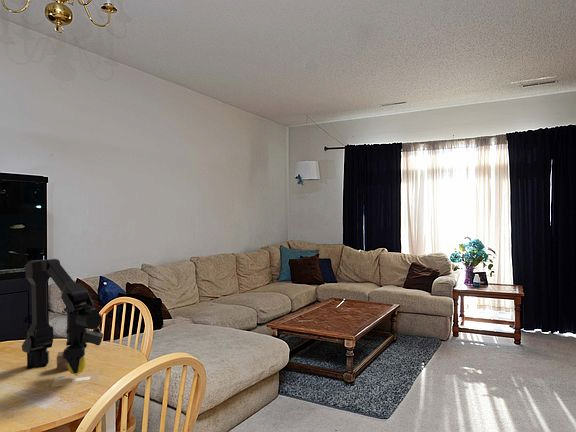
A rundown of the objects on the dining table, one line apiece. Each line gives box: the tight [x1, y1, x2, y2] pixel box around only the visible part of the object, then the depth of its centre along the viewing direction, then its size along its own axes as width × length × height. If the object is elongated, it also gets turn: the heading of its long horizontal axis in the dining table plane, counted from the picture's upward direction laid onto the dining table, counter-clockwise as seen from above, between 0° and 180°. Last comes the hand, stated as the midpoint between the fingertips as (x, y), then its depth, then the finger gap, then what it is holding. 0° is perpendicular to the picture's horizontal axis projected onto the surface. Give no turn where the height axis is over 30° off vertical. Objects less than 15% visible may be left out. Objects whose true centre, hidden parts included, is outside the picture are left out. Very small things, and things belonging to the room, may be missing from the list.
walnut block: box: [56, 351, 69, 373], centre depth 158 cm, size 4×4×6 cm
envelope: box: [51, 370, 100, 388], centre depth 148 cm, size 14×10×1 cm
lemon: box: [67, 355, 87, 376], centre depth 148 cm, size 6×6×8 cm
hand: (76, 370), depth 148 cm, fingers closed on lemon, 5 cm apart
